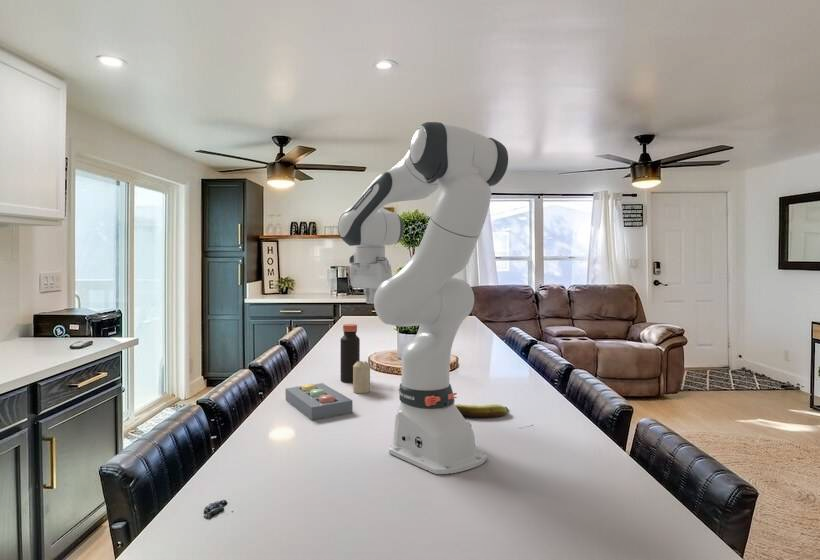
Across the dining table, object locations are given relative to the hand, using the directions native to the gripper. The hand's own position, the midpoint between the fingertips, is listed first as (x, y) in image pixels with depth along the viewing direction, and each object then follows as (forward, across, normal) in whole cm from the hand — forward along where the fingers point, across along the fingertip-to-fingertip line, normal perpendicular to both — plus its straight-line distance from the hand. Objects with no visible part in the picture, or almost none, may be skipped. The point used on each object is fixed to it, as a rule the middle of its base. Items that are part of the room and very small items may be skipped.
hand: (370, 303), depth 139 cm
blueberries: (+31, -40, +51) cm, 72 cm away
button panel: (+30, +5, +15) cm, 34 cm away
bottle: (+30, +27, -6) cm, 41 cm away
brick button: (+28, -2, +15) cm, 32 cm away
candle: (+30, +12, -3) cm, 32 cm away
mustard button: (+28, +12, +15) cm, 34 cm away
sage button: (+28, +5, +15) cm, 33 cm away
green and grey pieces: (+31, -26, -20) cm, 46 cm away
